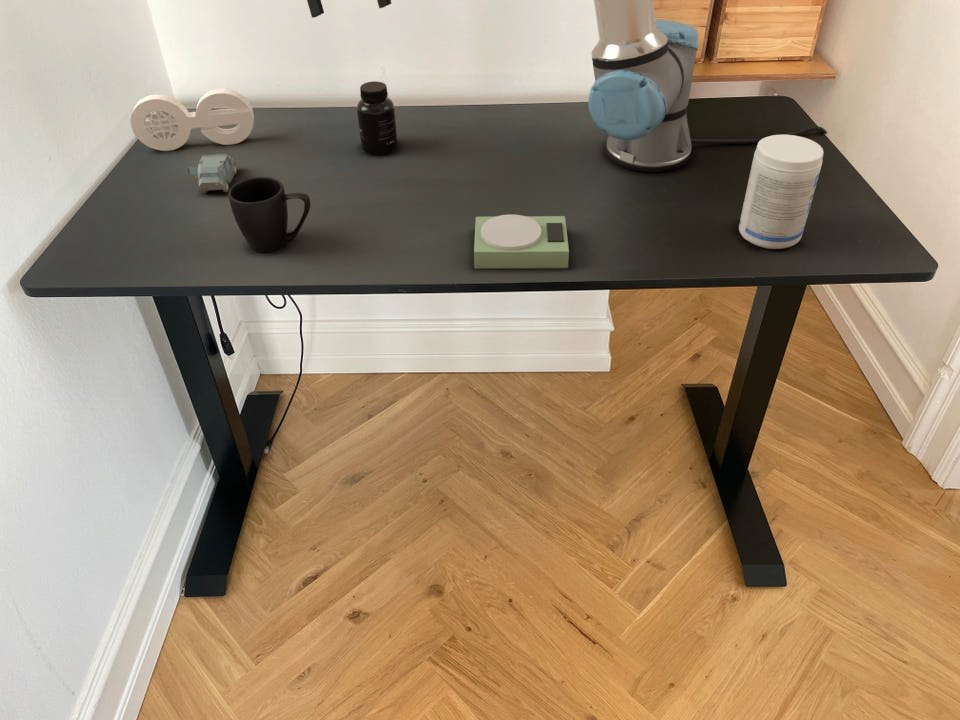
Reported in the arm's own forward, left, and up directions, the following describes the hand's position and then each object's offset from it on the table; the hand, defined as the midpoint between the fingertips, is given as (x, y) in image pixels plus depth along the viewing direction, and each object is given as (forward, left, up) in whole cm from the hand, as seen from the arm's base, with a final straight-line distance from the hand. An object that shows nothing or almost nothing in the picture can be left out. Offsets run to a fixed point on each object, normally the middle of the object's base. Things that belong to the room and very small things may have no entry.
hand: (352, 10), depth 129 cm
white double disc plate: (+33, -5, -26) cm, 43 cm away
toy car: (+26, +10, -26) cm, 38 cm away
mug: (+10, +30, -26) cm, 41 cm away
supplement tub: (-67, +28, -26) cm, 77 cm away
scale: (-28, +32, -26) cm, 50 cm away
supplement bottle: (-2, -3, -26) cm, 26 cm away
